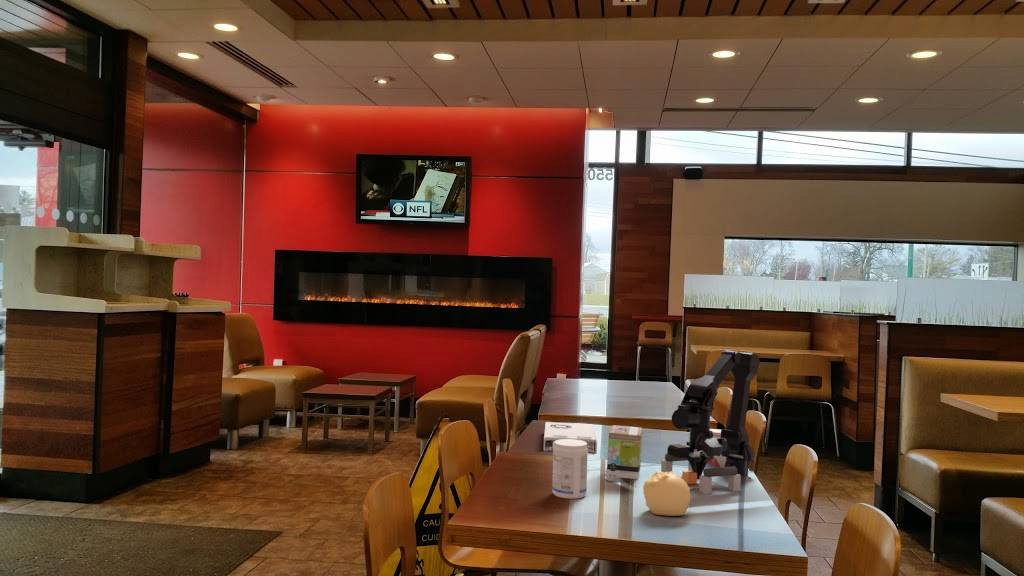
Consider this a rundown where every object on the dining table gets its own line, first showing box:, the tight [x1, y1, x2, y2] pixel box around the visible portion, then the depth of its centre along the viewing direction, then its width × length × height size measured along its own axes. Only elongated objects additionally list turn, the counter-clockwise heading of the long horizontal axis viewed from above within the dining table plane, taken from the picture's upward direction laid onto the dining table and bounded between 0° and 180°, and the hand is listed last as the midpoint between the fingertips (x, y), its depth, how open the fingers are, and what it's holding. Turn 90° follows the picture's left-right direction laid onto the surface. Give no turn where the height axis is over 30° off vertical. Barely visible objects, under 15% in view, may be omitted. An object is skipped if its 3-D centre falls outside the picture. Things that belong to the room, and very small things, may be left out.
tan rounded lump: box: [642, 470, 691, 517], centre depth 190 cm, size 12×12×11 cm
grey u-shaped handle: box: [660, 453, 693, 472], centre depth 225 cm, size 12×2×8 cm, turn 112°
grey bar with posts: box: [698, 466, 742, 495], centre depth 208 cm, size 12×2×8 cm, turn 112°
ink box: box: [706, 428, 726, 468], centre depth 246 cm, size 9×5×12 cm, turn 81°
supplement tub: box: [551, 439, 589, 500], centre depth 204 cm, size 10×10×15 cm
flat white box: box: [543, 421, 598, 454], centre depth 276 cm, size 19×33×5 cm, turn 176°
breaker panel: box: [680, 476, 727, 491], centre depth 215 cm, size 16×13×2 cm
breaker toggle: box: [681, 470, 697, 484], centre depth 215 cm, size 3×3×3 cm
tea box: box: [605, 424, 643, 483], centre depth 226 cm, size 15×10×15 cm, turn 168°
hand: (697, 478), depth 216 cm, fingers closed
